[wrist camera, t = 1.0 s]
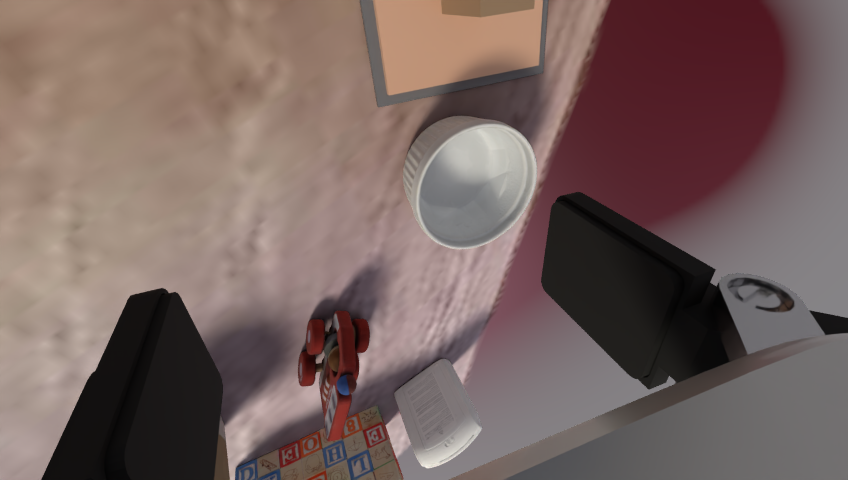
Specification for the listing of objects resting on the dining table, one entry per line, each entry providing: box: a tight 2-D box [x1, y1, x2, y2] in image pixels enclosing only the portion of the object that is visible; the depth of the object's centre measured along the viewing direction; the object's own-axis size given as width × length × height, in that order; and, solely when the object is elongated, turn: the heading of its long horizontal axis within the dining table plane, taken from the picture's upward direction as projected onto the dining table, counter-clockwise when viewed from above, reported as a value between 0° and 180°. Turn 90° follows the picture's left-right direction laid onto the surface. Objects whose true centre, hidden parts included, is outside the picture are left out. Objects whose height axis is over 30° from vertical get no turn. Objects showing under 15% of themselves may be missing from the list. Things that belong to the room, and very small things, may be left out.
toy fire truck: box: [298, 311, 370, 442], centre depth 45 cm, size 7×12×10 cm, turn 161°
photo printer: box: [394, 359, 482, 468], centre depth 55 cm, size 10×4×12 cm, turn 121°
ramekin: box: [403, 116, 537, 249], centre depth 40 cm, size 13×13×7 cm
